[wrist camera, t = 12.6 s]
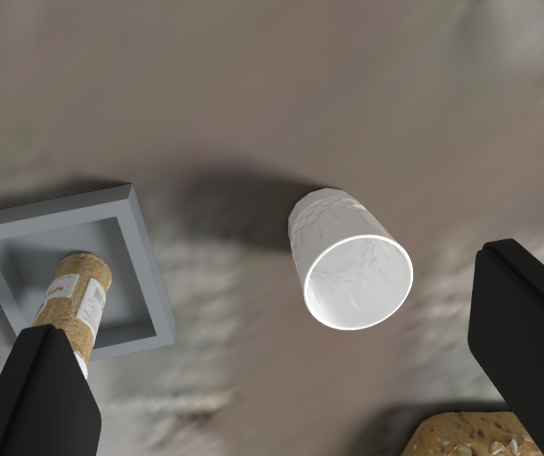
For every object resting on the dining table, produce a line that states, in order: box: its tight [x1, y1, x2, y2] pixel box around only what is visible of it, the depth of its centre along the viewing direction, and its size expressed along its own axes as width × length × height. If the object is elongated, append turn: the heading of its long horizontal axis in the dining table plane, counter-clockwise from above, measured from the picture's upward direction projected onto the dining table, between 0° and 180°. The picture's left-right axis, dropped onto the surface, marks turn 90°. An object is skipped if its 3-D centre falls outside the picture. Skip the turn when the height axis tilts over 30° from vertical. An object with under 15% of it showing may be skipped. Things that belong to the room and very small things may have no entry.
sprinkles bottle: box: [31, 253, 112, 379], centre depth 35 cm, size 5×5×14 cm
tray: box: [0, 184, 175, 362], centre depth 40 cm, size 14×12×3 cm
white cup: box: [288, 188, 413, 330], centre depth 38 cm, size 8×8×10 cm
